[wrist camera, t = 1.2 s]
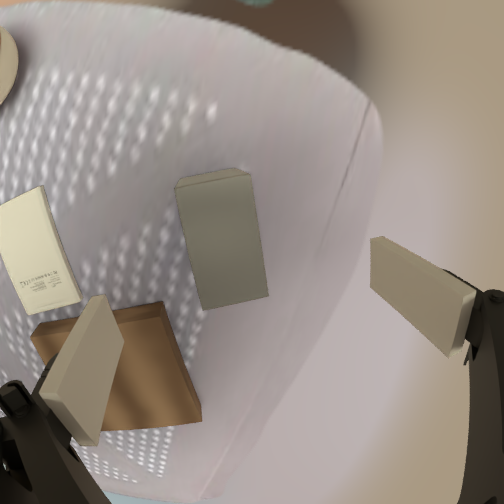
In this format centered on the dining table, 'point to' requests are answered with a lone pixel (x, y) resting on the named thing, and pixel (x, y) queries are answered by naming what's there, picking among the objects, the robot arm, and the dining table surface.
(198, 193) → the block
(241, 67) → the dining table surface
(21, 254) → the external hard drive
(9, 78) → the lidded jar
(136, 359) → the walnut stand
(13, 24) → the dining table surface
